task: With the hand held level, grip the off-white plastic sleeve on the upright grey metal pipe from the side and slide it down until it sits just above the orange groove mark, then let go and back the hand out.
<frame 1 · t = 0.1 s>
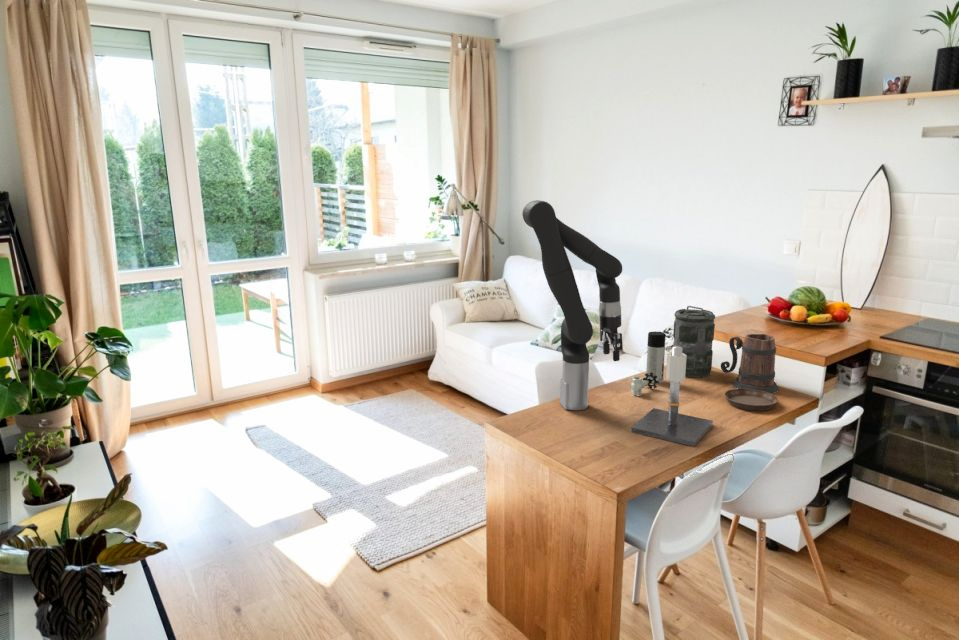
hand: (611, 357, 217), 17 cm above the countertop, tool pointing down, fingers open, 8 cm apart
sleeve: (676, 366, 193), point 21 cm above the countertop, slide at 0.0 cm
tankard: (747, 384, 239), on the countertop
plant saucer: (750, 404, 219), on the countertop
canister: (690, 372, 254), on the countertop
valve: (642, 392, 232), on the countertop
pipe stand: (672, 428, 198), on the countertop
spray can: (654, 381, 243), on the countertop
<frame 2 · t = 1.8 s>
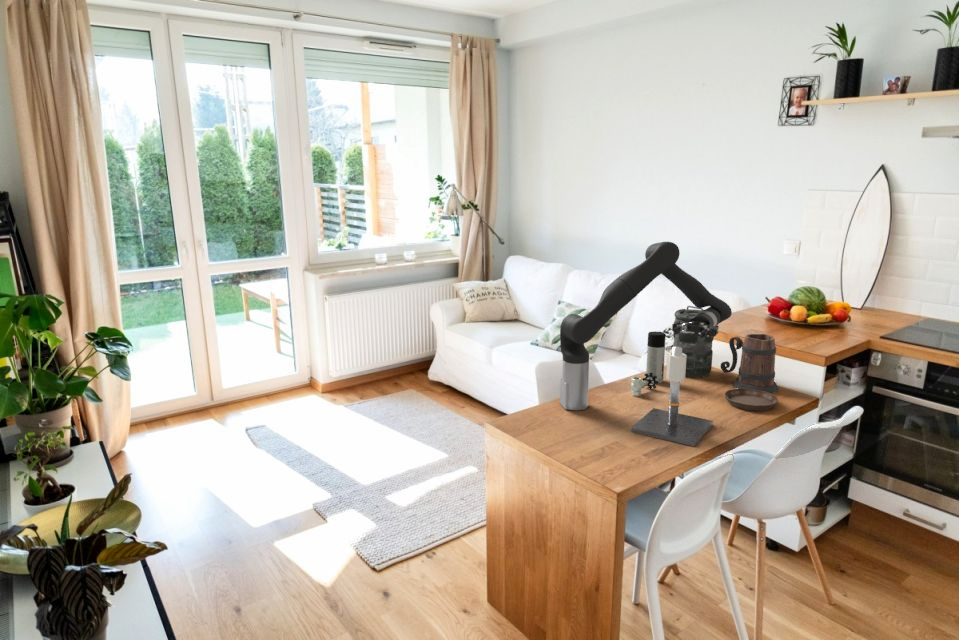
hand: (688, 333, 200), 30 cm above the countertop, tool horizontal, fingers open, 8 cm apart
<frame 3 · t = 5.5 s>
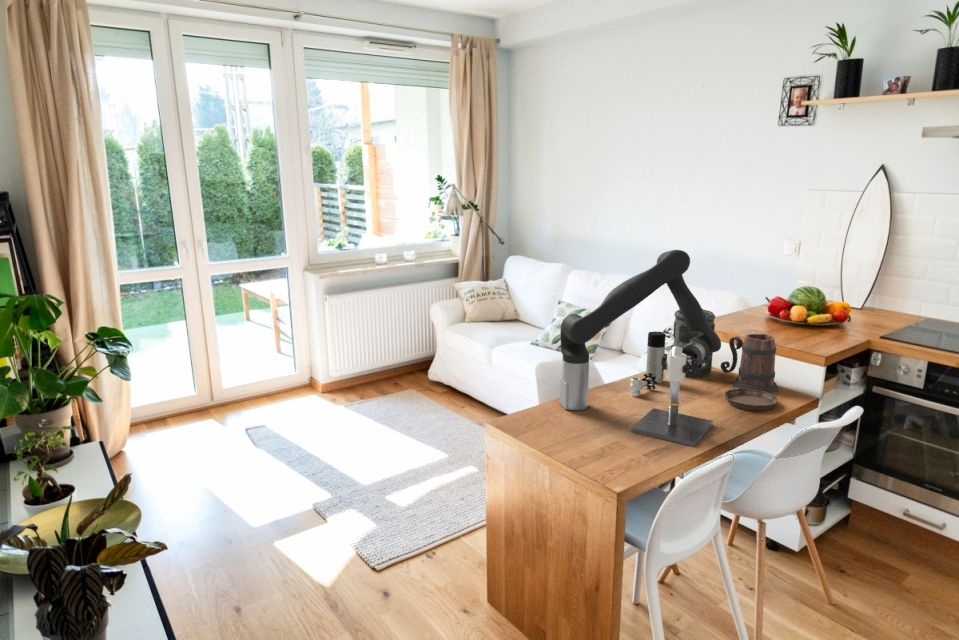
hand: (674, 368, 192), 21 cm above the countertop, tool horizontal, fingers closed on sleeve, 5 cm apart
sleeve: (676, 366, 193), point 21 cm above the countertop, slide at 0.0 cm, touching gripper
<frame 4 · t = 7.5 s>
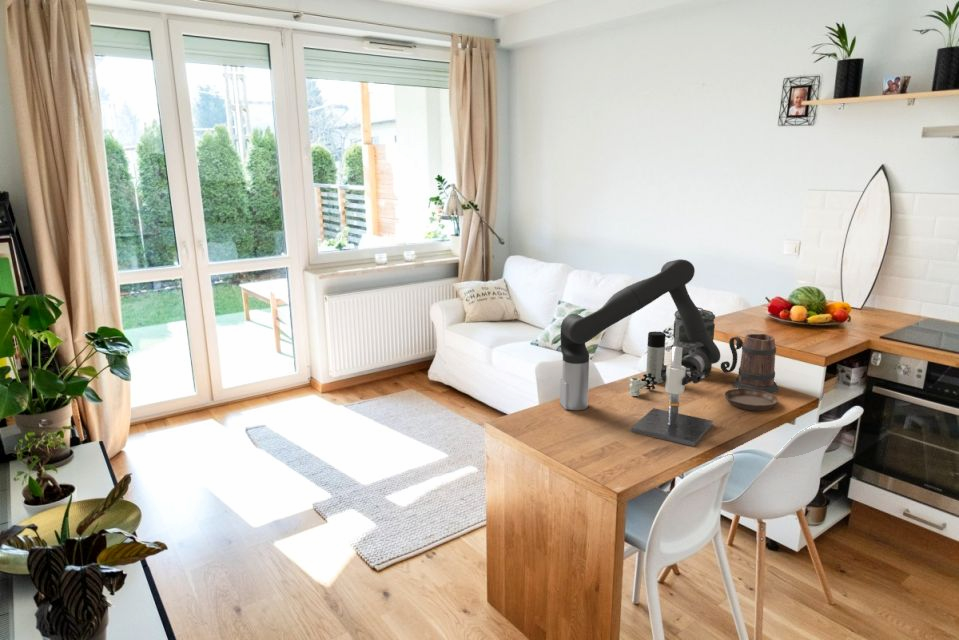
hand: (673, 380, 193), 17 cm above the countertop, tool horizontal, fingers closed on sleeve, 5 cm apart
sleeve: (675, 379, 194), point 17 cm above the countertop, slide at 4.1 cm, touching gripper
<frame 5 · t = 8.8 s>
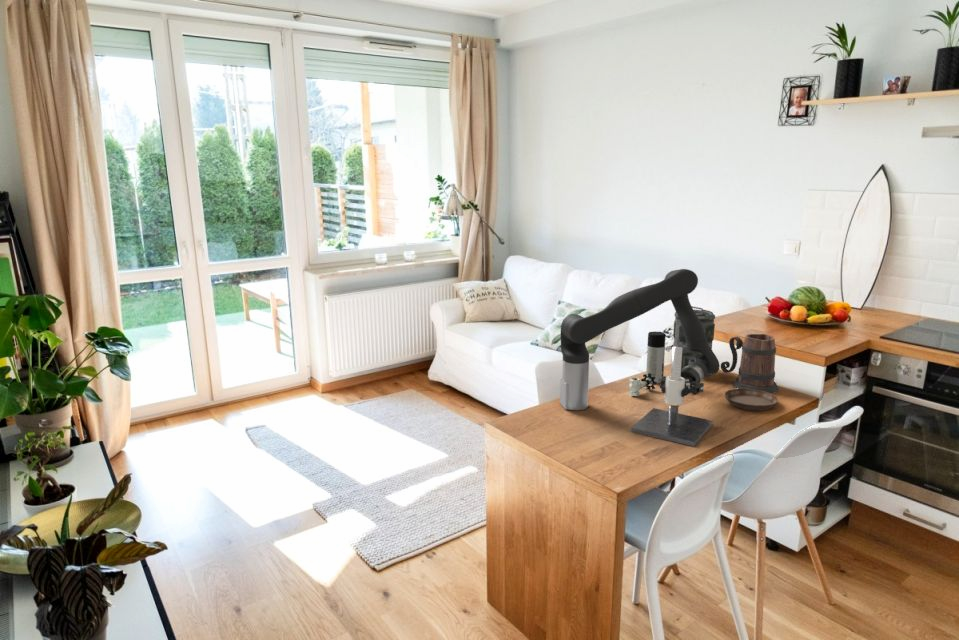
hand: (672, 392, 194), 13 cm above the countertop, tool horizontal, fingers closed on sleeve, 5 cm apart
sleeve: (674, 390, 195), point 13 cm above the countertop, slide at 8.0 cm, touching gripper
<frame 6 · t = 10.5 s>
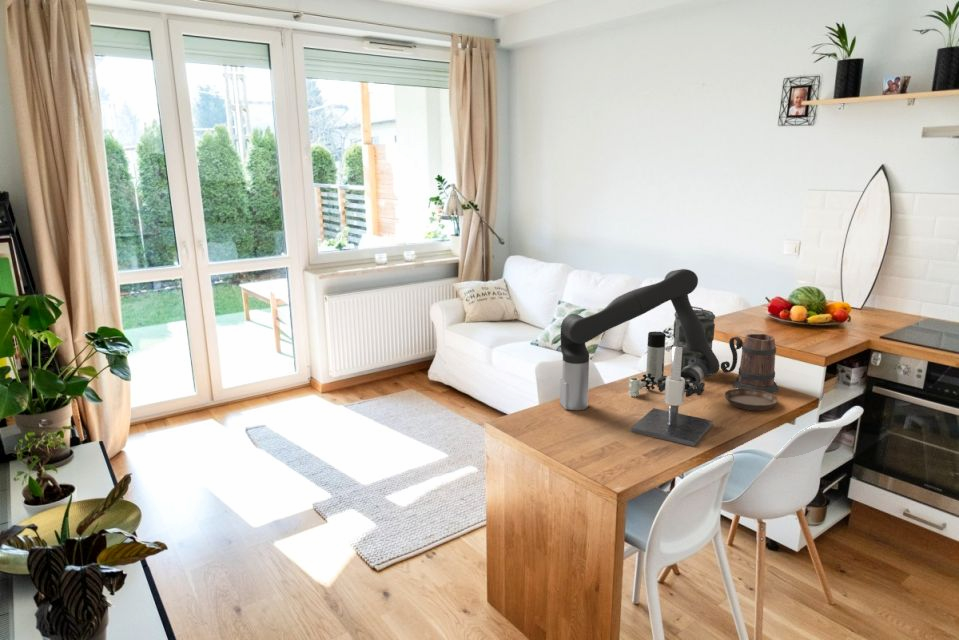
hand: (673, 391, 194), 13 cm above the countertop, tool horizontal, fingers open, 8 cm apart
sleeve: (674, 390, 195), point 13 cm above the countertop, slide at 8.0 cm
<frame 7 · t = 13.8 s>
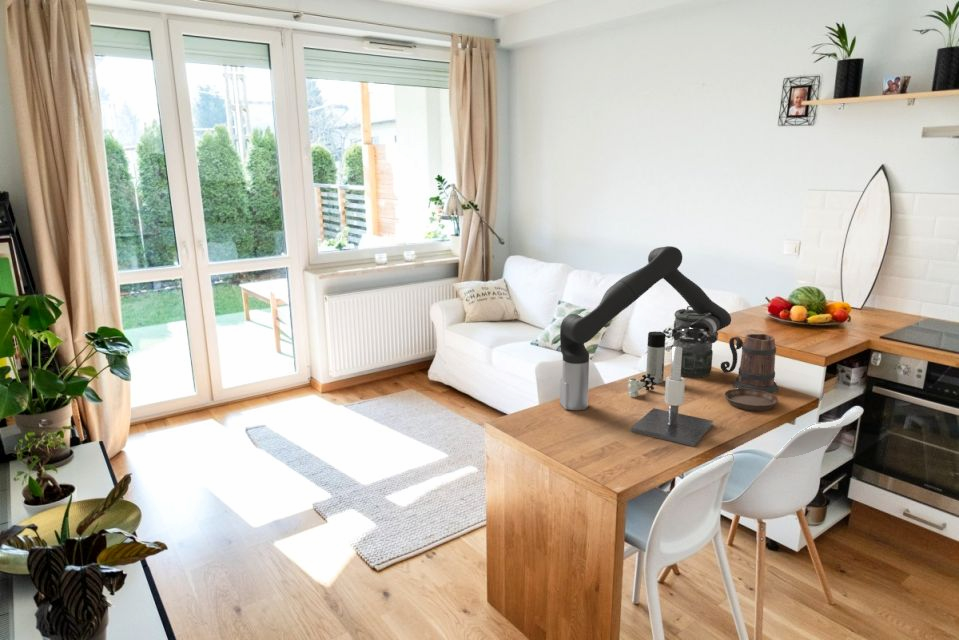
hand: (688, 339, 201), 28 cm above the countertop, tool horizontal, fingers open, 8 cm apart
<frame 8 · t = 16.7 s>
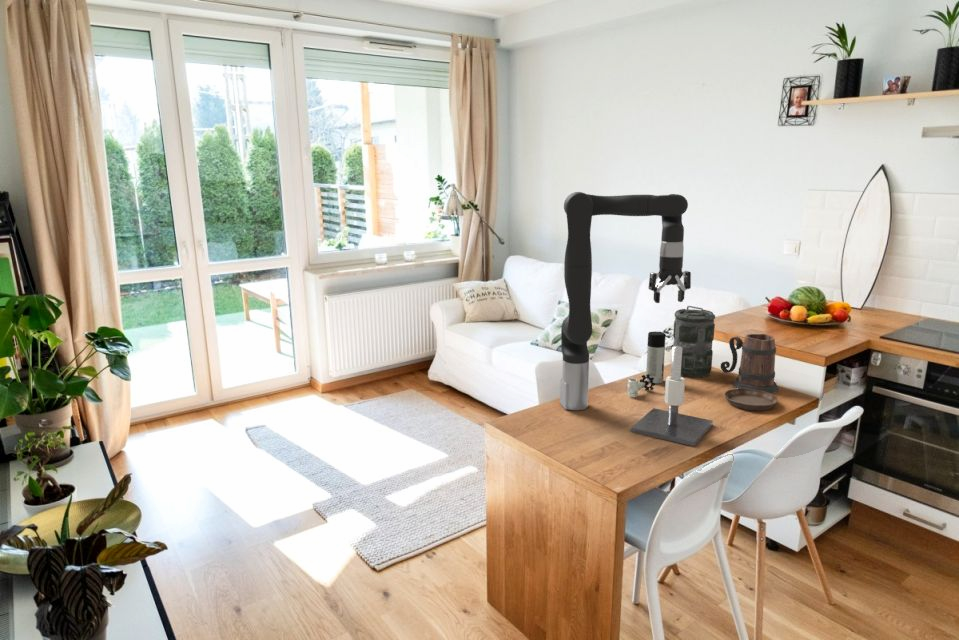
hand: (668, 302, 208), 38 cm above the countertop, tool pointing down, fingers open, 8 cm apart
at the end: sleeve slide at 8.0 cm; the gripper is holding nothing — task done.
